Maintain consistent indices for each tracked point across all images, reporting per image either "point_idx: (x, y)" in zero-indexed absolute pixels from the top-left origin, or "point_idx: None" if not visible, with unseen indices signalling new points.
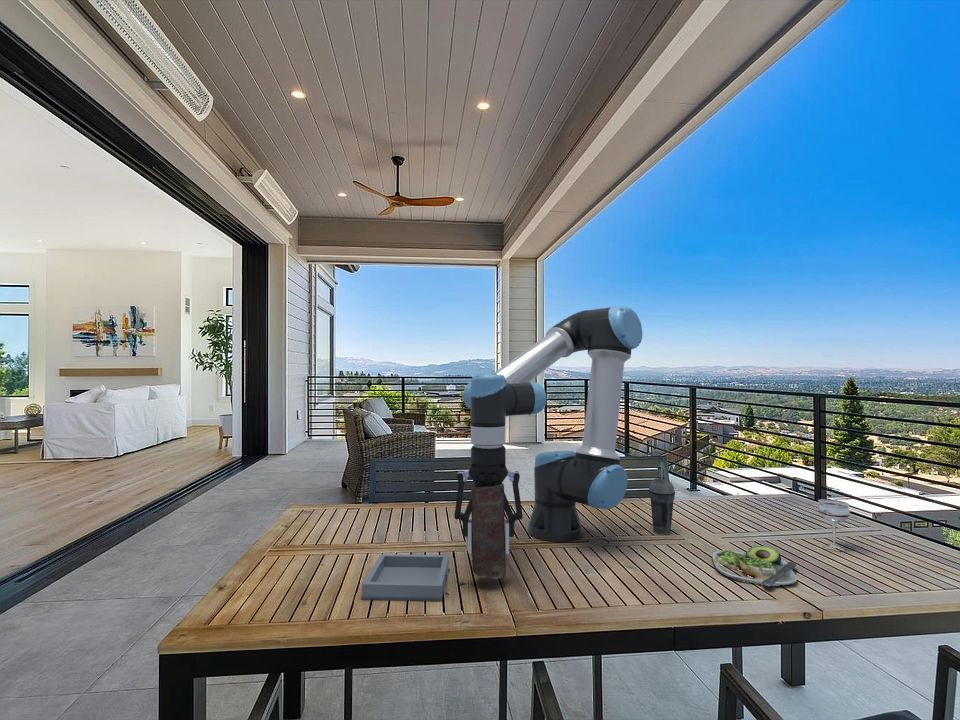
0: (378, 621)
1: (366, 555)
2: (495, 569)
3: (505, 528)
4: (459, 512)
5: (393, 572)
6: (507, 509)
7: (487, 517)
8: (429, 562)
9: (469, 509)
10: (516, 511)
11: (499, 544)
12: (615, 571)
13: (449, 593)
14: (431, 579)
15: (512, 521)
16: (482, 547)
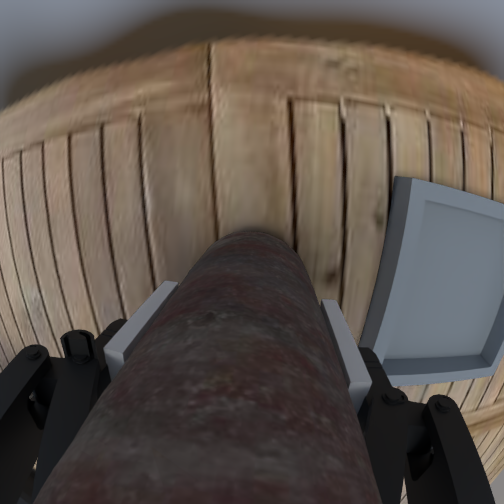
0: (498, 114)
1: (481, 401)
2: (230, 239)
3: (136, 341)
4: (441, 425)
5: (474, 328)
6: (68, 409)
7: (238, 348)
8: (405, 366)
9: (384, 453)
10: (28, 378)
11: (191, 276)
12: (5, 297)
13: (372, 219)
14: (411, 291)
15: (75, 337)
16: (281, 267)
